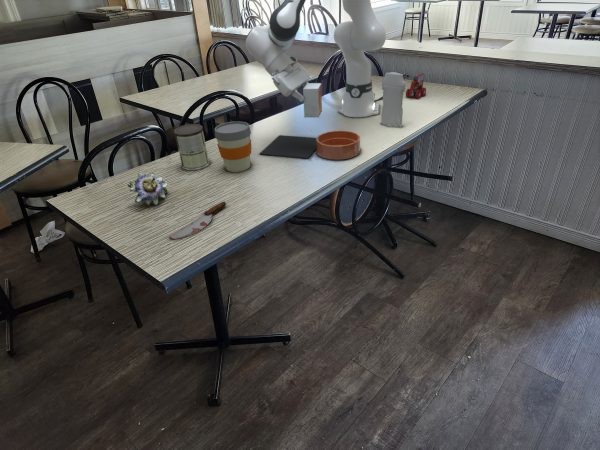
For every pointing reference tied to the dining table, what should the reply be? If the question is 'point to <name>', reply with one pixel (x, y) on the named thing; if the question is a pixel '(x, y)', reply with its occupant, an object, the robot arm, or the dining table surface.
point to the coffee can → (191, 146)
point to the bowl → (338, 145)
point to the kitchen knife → (198, 222)
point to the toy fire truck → (416, 87)
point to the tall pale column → (392, 99)
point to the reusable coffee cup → (234, 145)
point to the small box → (312, 100)
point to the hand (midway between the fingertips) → (308, 96)
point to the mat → (291, 147)
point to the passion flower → (148, 188)
